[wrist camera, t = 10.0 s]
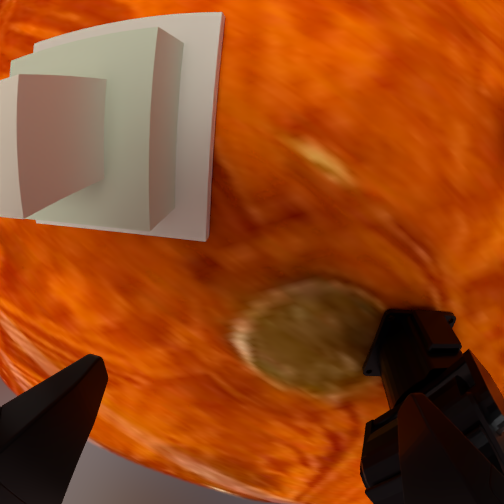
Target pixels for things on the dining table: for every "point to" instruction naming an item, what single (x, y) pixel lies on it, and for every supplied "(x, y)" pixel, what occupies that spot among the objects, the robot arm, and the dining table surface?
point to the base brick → (123, 125)
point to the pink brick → (49, 139)
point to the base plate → (179, 116)
